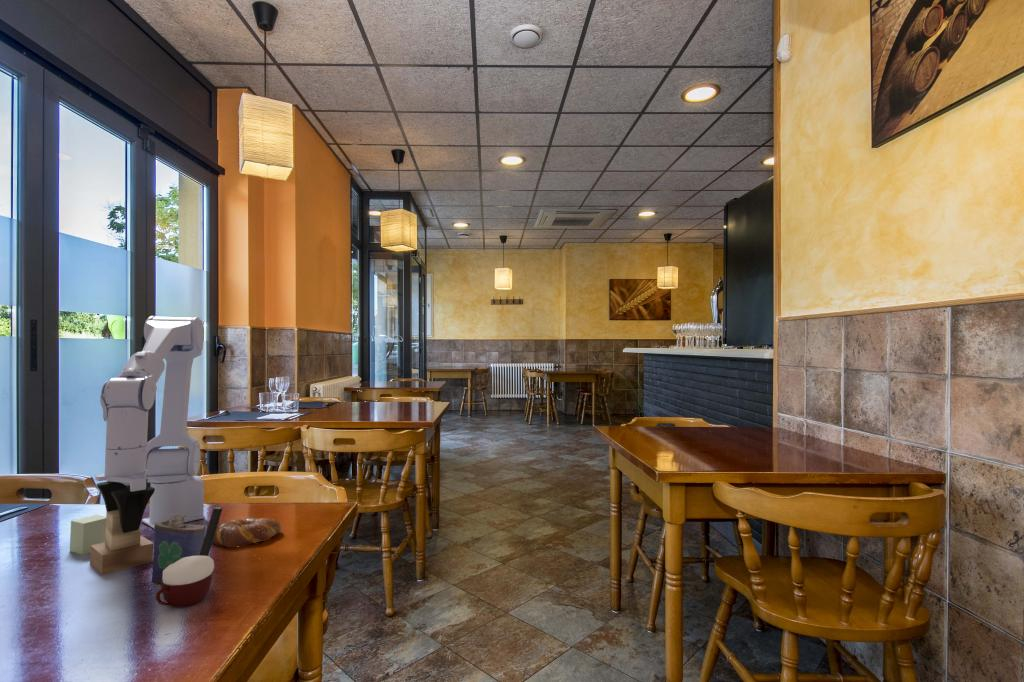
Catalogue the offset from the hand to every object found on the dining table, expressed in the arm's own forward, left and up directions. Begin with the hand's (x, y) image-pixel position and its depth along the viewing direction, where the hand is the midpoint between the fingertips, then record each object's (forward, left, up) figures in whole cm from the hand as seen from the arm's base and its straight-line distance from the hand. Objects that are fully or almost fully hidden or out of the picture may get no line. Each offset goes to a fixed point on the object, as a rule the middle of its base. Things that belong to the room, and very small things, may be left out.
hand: (123, 526), depth 87 cm
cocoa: (-2, +24, -6) cm, 25 cm away
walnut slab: (0, 0, -6) cm, 7 cm away
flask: (-3, +16, -6) cm, 17 cm away
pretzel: (-19, +4, -7) cm, 20 cm away
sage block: (+2, -12, -6) cm, 14 cm away
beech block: (0, 0, -3) cm, 3 cm away
